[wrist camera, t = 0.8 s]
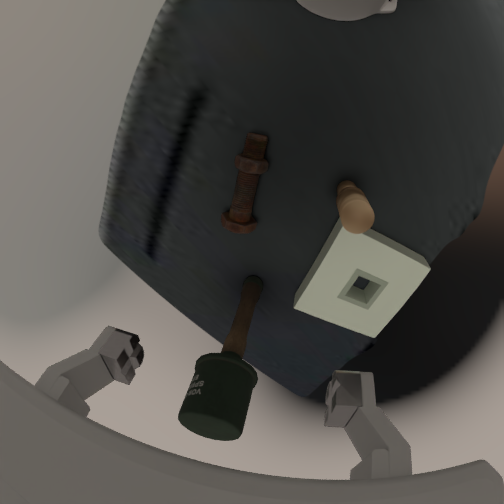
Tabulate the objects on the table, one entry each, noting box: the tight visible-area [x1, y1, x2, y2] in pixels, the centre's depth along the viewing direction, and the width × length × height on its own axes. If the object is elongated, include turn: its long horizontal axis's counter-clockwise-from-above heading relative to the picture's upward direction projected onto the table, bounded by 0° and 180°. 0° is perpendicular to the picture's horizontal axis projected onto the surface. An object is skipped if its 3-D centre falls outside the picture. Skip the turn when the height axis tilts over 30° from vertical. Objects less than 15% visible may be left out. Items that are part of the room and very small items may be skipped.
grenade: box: [178, 276, 263, 441], centre depth 41 cm, size 8×9×30 cm
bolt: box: [221, 133, 269, 234], centre depth 42 cm, size 6×5×15 cm
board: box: [294, 217, 431, 338], centre depth 47 cm, size 18×18×4 cm
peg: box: [336, 181, 374, 234], centre depth 37 cm, size 4×4×11 cm
